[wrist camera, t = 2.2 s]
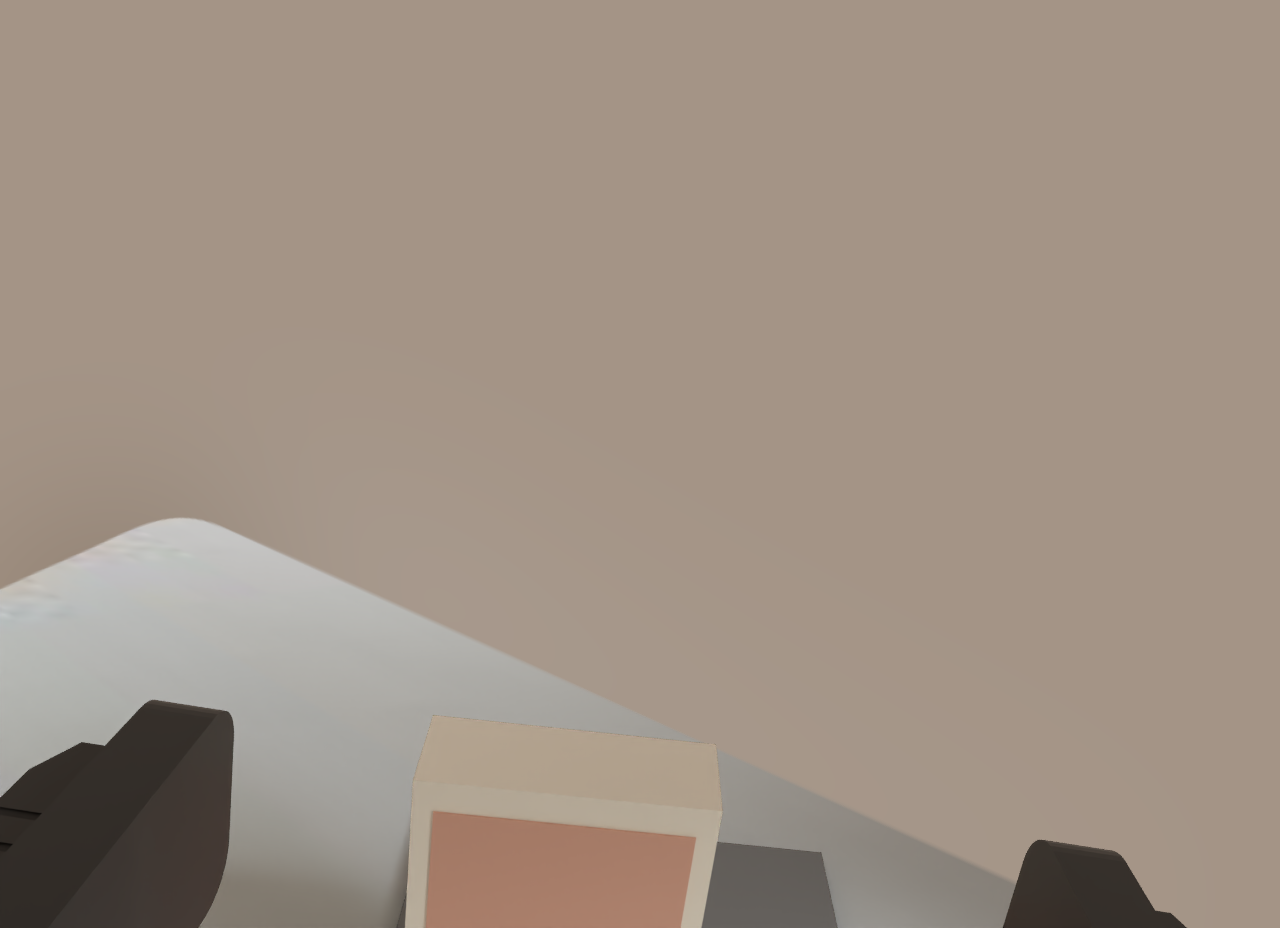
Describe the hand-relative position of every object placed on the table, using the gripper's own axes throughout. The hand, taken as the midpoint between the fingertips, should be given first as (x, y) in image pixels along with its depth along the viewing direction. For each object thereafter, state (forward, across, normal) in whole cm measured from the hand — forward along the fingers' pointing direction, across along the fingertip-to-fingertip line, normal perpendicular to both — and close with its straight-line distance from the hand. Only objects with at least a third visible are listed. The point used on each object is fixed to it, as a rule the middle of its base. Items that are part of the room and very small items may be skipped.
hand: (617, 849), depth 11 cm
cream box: (+14, 0, +20) cm, 24 cm away
